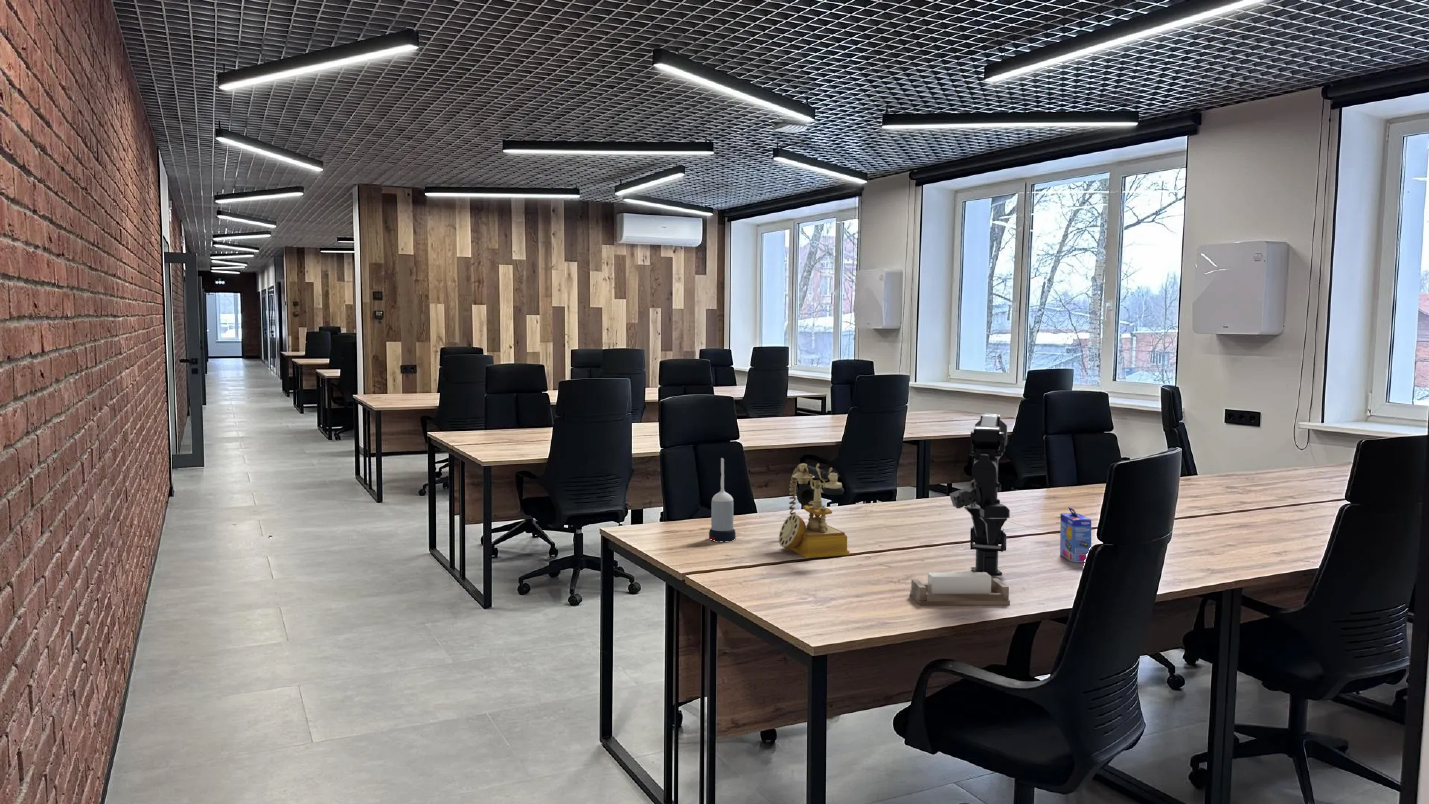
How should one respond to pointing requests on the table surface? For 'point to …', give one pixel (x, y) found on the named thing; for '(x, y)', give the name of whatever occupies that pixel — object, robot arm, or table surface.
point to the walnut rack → (961, 595)
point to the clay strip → (959, 582)
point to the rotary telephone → (816, 534)
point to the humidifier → (722, 514)
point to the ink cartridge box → (1074, 536)
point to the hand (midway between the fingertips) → (984, 540)
